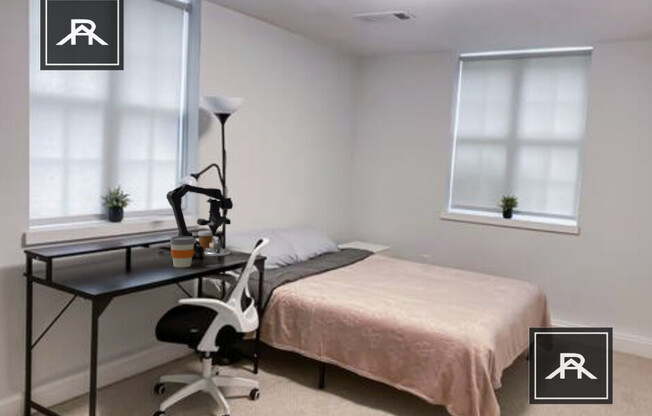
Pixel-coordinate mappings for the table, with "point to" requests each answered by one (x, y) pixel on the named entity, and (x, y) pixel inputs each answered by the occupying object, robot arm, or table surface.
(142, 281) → the table surface
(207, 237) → the disposable coffee cup
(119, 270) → the table surface
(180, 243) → the reusable coffee cup
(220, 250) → the index wheel
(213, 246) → the link block
